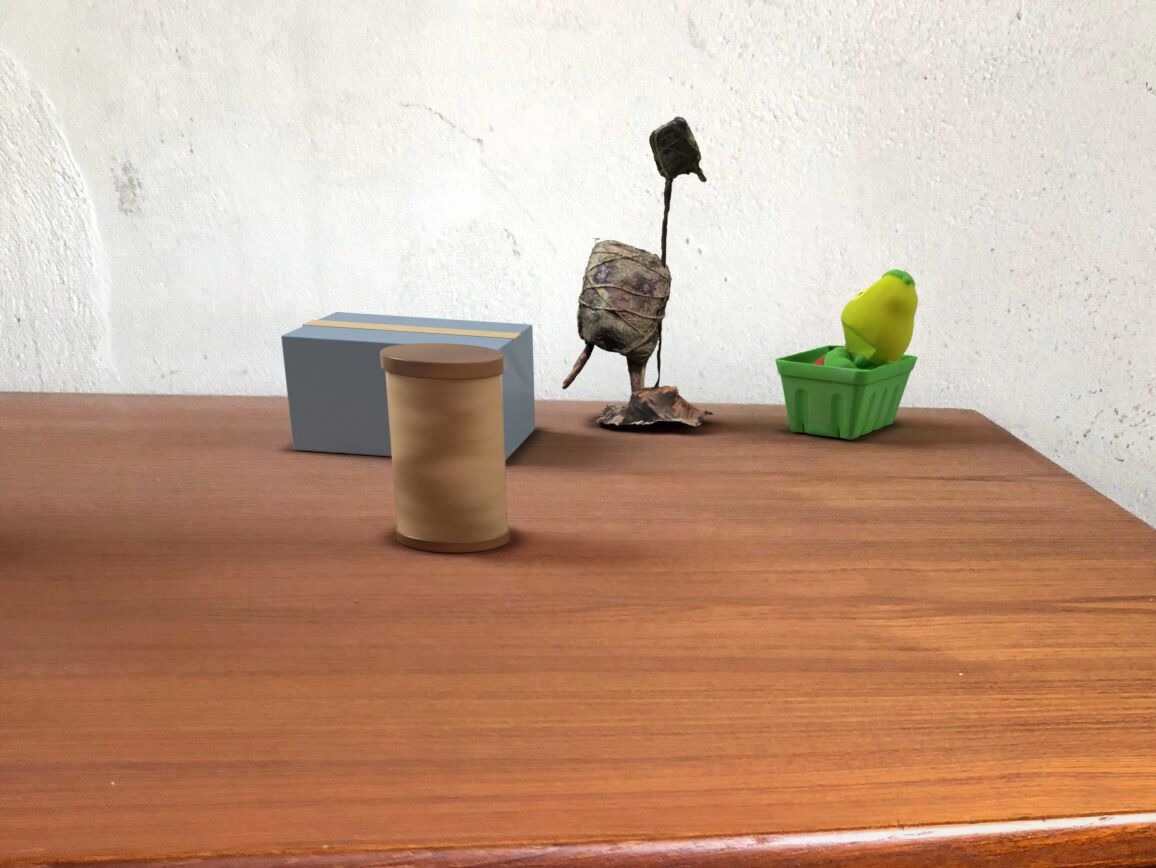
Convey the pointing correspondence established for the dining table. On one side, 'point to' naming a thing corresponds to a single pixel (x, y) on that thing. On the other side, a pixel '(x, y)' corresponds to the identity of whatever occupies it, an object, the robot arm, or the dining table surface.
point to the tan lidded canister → (447, 445)
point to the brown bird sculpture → (637, 298)
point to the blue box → (358, 383)
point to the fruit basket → (856, 365)
